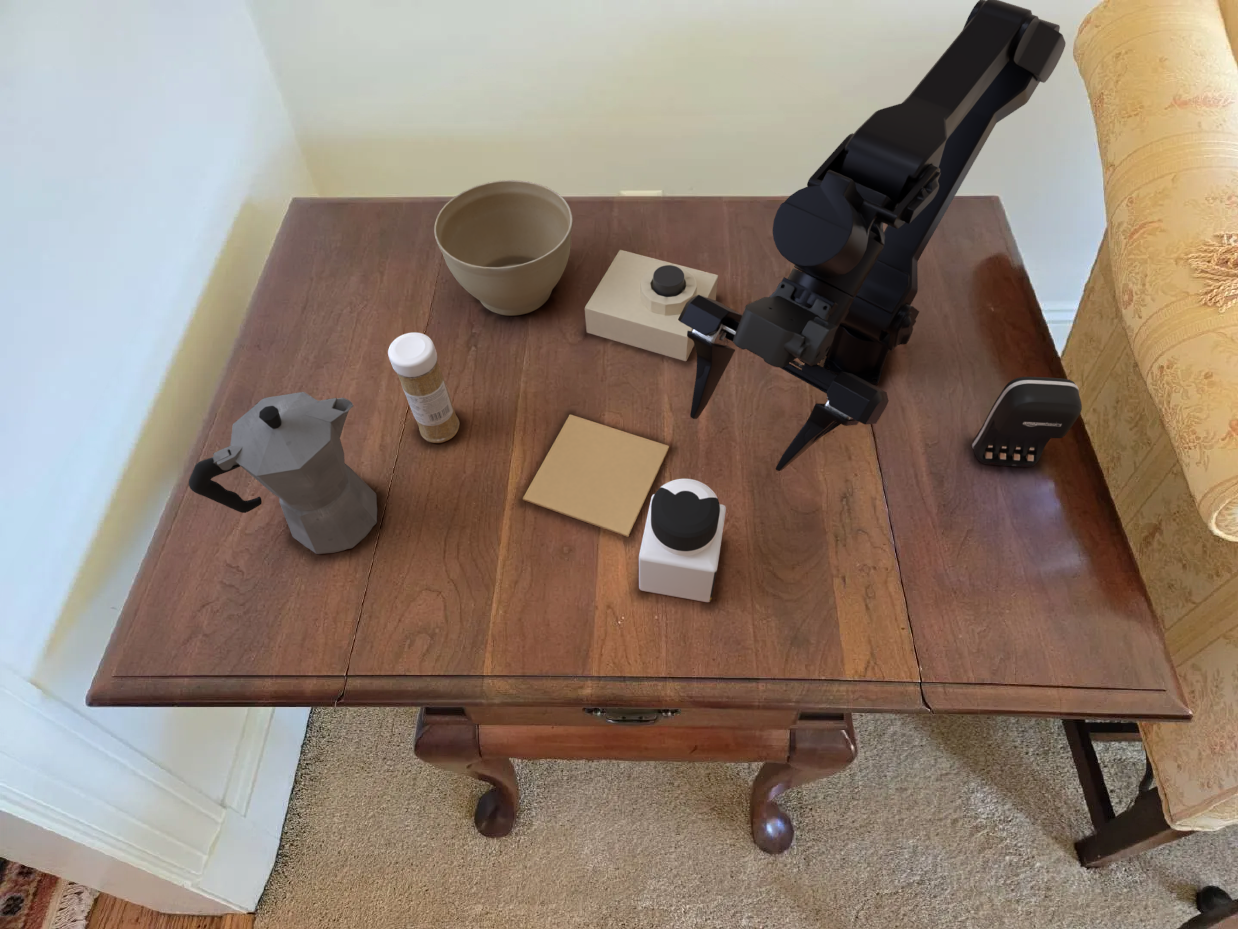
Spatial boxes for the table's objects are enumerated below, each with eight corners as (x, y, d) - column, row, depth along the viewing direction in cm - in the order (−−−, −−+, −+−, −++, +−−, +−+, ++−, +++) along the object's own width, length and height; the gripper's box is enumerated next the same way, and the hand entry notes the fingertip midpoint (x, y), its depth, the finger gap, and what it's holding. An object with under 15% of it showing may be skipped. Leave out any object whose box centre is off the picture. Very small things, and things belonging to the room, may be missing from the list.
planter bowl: (603, 293, 99) (600, 224, 90) (500, 356, 93) (485, 289, 84) (529, 231, 106) (518, 161, 97) (428, 286, 100) (408, 217, 91)
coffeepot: (376, 457, 86) (320, 345, 71) (412, 518, 81) (360, 412, 66) (240, 525, 81) (149, 421, 66) (270, 594, 77) (179, 499, 62)
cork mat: (669, 448, 85) (669, 445, 85) (628, 537, 79) (628, 535, 79) (570, 416, 88) (569, 414, 88) (523, 500, 82) (522, 498, 82)
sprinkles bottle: (454, 408, 89) (428, 325, 78) (464, 438, 87) (437, 357, 76) (415, 419, 88) (383, 337, 77) (424, 450, 86) (391, 370, 75)
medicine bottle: (710, 604, 75) (721, 545, 65) (638, 591, 76) (637, 531, 66) (720, 540, 79) (731, 475, 69) (651, 528, 80) (652, 463, 70)
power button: (687, 280, 92) (688, 269, 90) (677, 300, 90) (678, 289, 89) (659, 273, 93) (659, 261, 91) (648, 292, 91) (648, 281, 89)
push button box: (715, 300, 98) (719, 263, 93) (686, 361, 92) (688, 326, 87) (620, 274, 101) (619, 237, 96) (586, 332, 95) (583, 296, 90)
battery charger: (973, 470, 83) (1016, 404, 73) (968, 441, 85) (1009, 373, 75) (1041, 475, 82) (1093, 408, 73) (1034, 445, 84) (1084, 377, 75)
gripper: (697, 217, 61) (612, 391, 66) (912, 323, 54) (800, 509, 59) (743, 244, 71) (666, 393, 76) (930, 337, 64) (833, 495, 69)
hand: (734, 443), depth 70 cm, fingers open, 9 cm apart
